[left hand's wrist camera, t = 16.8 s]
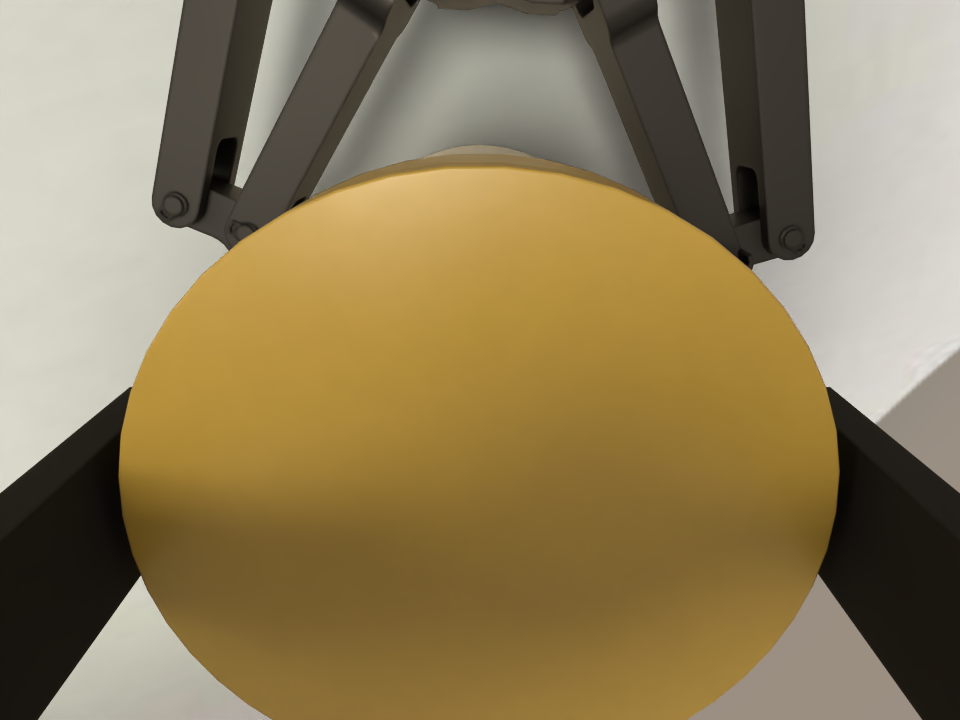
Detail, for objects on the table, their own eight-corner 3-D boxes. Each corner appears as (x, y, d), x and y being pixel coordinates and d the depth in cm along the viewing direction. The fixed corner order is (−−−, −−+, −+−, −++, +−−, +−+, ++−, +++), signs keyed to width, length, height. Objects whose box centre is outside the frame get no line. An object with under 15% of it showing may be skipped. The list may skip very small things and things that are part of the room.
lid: (770, 80, 10) (841, 76, 8) (789, 641, 14) (840, 729, 12) (72, 232, 11) (-19, 263, 9) (286, 717, 15) (257, 812, 13)
